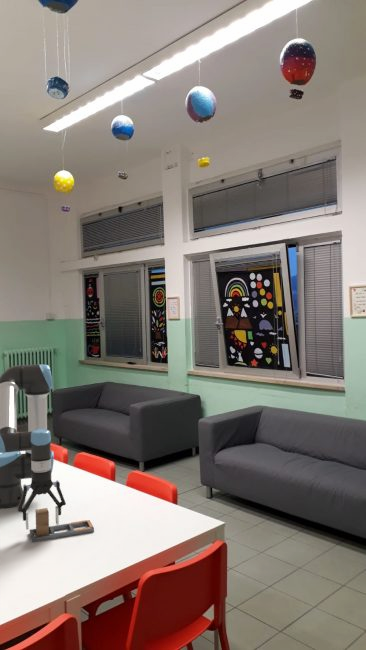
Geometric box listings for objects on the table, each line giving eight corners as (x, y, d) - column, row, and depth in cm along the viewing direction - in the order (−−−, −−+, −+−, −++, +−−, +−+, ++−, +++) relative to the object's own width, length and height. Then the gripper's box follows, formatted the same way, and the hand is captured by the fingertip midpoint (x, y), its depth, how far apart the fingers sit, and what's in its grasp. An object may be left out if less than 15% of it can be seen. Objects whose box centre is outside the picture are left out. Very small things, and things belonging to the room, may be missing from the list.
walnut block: (36, 534, 201) (35, 509, 201) (47, 532, 202) (47, 507, 202) (37, 539, 197) (36, 513, 196) (49, 537, 198) (48, 511, 198)
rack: (29, 533, 202) (29, 529, 202) (89, 523, 211) (89, 519, 211) (31, 542, 194) (31, 538, 194) (94, 531, 202) (94, 527, 202)
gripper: (10, 476, 192) (11, 534, 192) (72, 468, 200) (73, 524, 200) (9, 471, 199) (10, 527, 199) (69, 464, 207) (70, 517, 207)
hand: (42, 525), depth 199 cm, fingers open, 11 cm apart
